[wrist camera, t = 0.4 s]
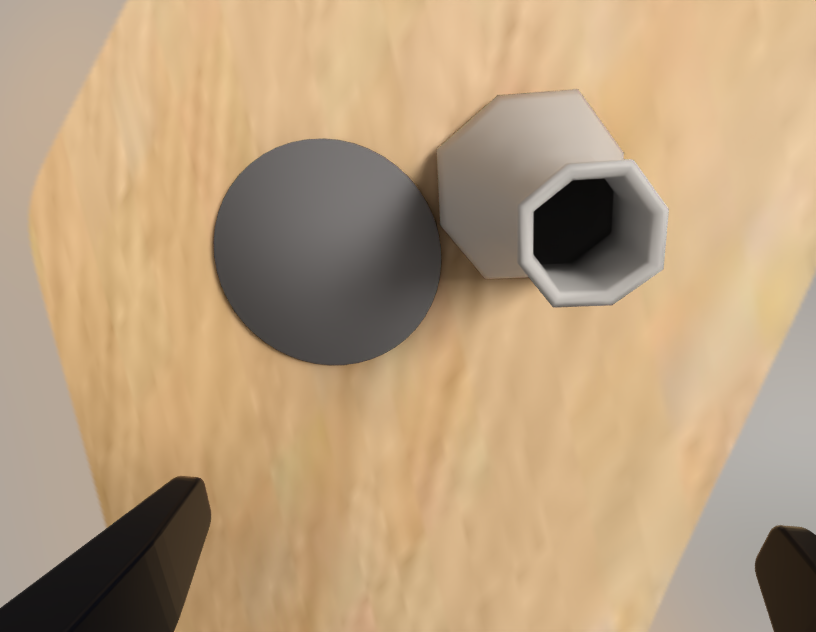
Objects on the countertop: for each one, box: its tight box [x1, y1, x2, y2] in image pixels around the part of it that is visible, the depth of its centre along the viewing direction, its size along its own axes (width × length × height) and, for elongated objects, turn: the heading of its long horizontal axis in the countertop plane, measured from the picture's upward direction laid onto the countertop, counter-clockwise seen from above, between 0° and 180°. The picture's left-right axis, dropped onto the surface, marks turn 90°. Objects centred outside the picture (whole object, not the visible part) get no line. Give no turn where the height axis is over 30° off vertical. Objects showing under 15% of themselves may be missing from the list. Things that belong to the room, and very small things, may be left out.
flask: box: [437, 89, 669, 307], centre depth 16 cm, size 7×7×10 cm
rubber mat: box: [214, 139, 441, 365], centre depth 22 cm, size 10×10×1 cm
